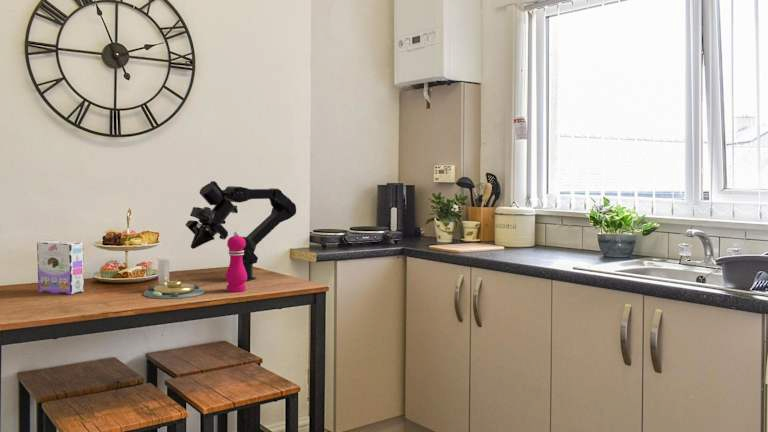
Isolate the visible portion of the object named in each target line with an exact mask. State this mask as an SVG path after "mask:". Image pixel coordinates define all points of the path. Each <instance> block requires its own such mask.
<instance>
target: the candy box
mask: <svg viewBox="0 0 768 432" xmlns="http://www.w3.org/2000/svg"><path fill="white" fill-rule="evenodd" d="M36 249H37V250H36V251H37V252H36V253H37V284H38V285H37V286H38V287H37V288H38V290H37V291H38V292H39V293H46V294H47V293H48V294H49V293H50V294H60V295H61V294H62V295H76V294H81V293H84V292H85V291H84V290H85V286H84V284H85V281H84V280H85V279H84V277H85V276H84V274H85V273H84V271H85V270H84V241H83V242H81V241H80V242H79V241H65V240H42V241H37V242H36Z"/></svg>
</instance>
